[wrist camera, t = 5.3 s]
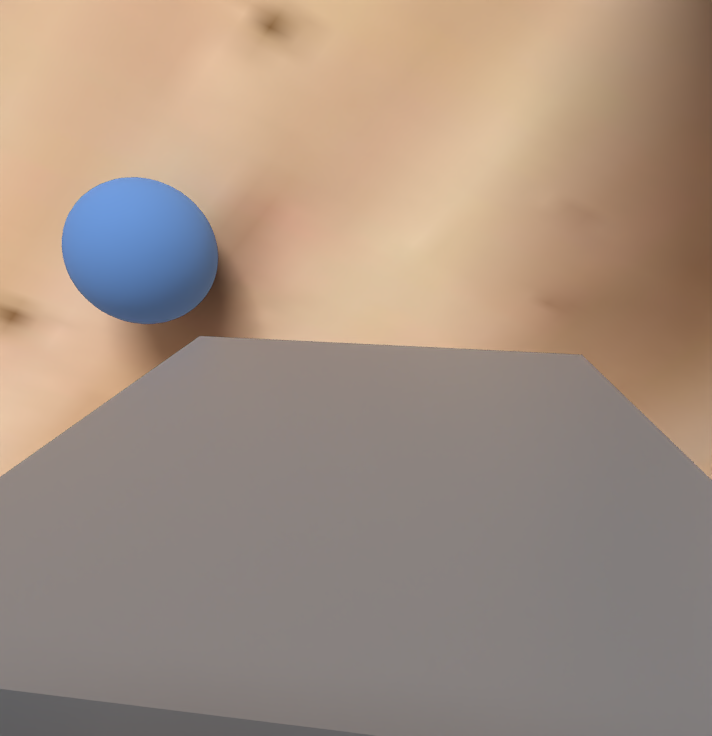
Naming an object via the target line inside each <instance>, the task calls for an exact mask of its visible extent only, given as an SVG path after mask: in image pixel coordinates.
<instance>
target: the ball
mask: <svg viewBox="0 0 712 736" xmlns="http://www.w3.org/2000/svg"><path fill="white" fill-rule="evenodd" d="M62 253H63V258H64V263H65V266H66V269H67V271H68V274H69V276H70V278H71V280H72V281H73V283H74V284H75V286H76V287H77V289H78V290H79V291H80V293H81V294H82V295H83V296H84V297H85V298H86V299H87V300H88V301H89V302H91V303H92V304H93V305H94V306H95V307H97V308H98V309H100V310H101V311H103V312H105V313H107V314H108V315H111V316H113V317H115V318H118V319H120V320H124V321H127V322H133V323H140V324H155V323H163V322H167V321H171V320H174V319H176V318H179V317H181V316H183V315H185V314H186V313H188V312H189V311H191V310H192V309H194V308H195V307H196V306H197V305H198V304H199V303H200V302H201V301H202V300H203V299H204V298H205V296H206V295H207V293H208V292H209V290H210V288H211V287H212V284H213V282H214V279H215V276H216V272H217V265H218V249H217V243H216V239H215V236H214V233H213V230H212V228H211V226H210V224H209V222H208V220H207V219H206V217H205V216H204V214H203V213H202V212H201V210H200V209H199V208H198V207H197V206H196V205H195V204H194V203H193V202H192V201H191V200H190V199H189V198H188V197H187V196H185V195H184V194H183V193H181V192H180V191H178V190H176V189H174V188H173V187H171V186H169V185H166V184H164V183H161V182H159V181H155V180H151V179H146V178H138V177H131V178H119V179H114V180H111V181H108V182H105V183H102V184H99V185H98V186H96V187H94V188H92V189H91V190H90V191H88V192H87V193H86V194H84V195H83V196H82V197H81V198H80V199H79V200H78V201H77V202H76V204H75V205H74V207H73V208H72V210H71V211H70V213H69V215H68V217H67V219H66V222H65V225H64V229H63V236H62Z"/></svg>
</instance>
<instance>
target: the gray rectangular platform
mask: <svg viewBox="0 0 712 736" xmlns="http://www.w3.org/2000/svg"><path fill="white" fill-rule="evenodd" d="M0 736H712V480H711V479H710V478H709V477H708V476H707V475H706V474H705V473H704V472H703V471H702V470H701V469H700V468H698V467H697V466H696V465H695V464H694V463H693V462H692V461H691V460H690V459H689V458H688V457H687V456H686V455H685V454H684V453H683V452H682V451H681V450H680V449H679V448H678V447H677V446H676V445H675V444H674V443H673V442H672V441H671V440H669V439H668V438H667V437H666V436H665V435H664V434H663V433H662V432H661V431H660V430H659V429H658V428H657V427H656V426H655V425H654V424H653V423H652V422H651V421H650V420H649V419H648V418H647V417H646V416H645V415H644V414H643V413H642V412H640V411H639V410H638V409H637V408H636V407H635V406H634V405H633V404H632V403H631V402H630V401H629V400H628V399H627V398H626V397H625V396H624V395H623V394H622V393H621V392H620V391H619V390H618V389H617V388H616V387H615V386H614V385H613V384H611V383H610V382H609V381H608V380H607V379H606V378H605V377H604V376H603V375H602V374H601V373H600V372H599V371H598V370H597V369H596V368H595V367H594V366H593V365H592V364H591V363H590V362H589V361H588V360H587V359H586V358H585V357H584V356H583V355H577V354H557V353H536V352H516V351H496V350H475V349H455V348H434V347H414V346H393V345H373V344H353V343H332V342H312V341H291V340H271V339H251V338H230V337H210V336H199V337H198V338H196V339H195V340H193V341H192V342H190V343H189V344H188V345H186V346H185V347H183V348H182V349H181V350H179V351H178V352H176V353H175V354H174V355H172V356H171V357H169V358H168V359H166V360H165V361H164V362H162V363H161V364H159V365H158V366H157V367H155V368H154V369H152V370H151V371H149V372H148V373H147V374H145V375H144V376H142V377H141V378H140V379H138V380H137V381H135V382H134V383H132V384H131V385H130V386H128V387H127V388H125V389H124V390H123V391H121V392H120V393H118V394H117V395H116V396H114V397H113V398H111V399H110V400H108V401H107V402H106V403H104V404H103V405H101V406H100V407H99V408H97V409H96V410H94V411H93V412H91V413H90V414H89V415H87V416H86V417H84V418H83V419H82V420H80V421H79V422H77V423H76V424H74V425H73V426H72V427H70V428H69V429H67V430H66V431H65V432H63V433H62V434H60V435H59V436H58V437H56V438H55V439H53V440H52V441H50V442H49V443H48V444H46V445H45V446H43V447H42V448H41V449H39V450H38V451H36V452H35V453H33V454H32V455H31V456H29V457H28V458H26V459H25V460H24V461H22V462H21V463H19V464H18V465H16V466H15V467H14V468H12V469H11V470H9V471H8V472H7V473H5V474H4V475H2V476H1V477H0Z"/></svg>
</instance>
